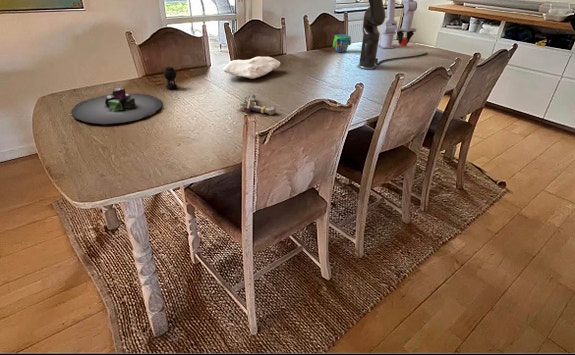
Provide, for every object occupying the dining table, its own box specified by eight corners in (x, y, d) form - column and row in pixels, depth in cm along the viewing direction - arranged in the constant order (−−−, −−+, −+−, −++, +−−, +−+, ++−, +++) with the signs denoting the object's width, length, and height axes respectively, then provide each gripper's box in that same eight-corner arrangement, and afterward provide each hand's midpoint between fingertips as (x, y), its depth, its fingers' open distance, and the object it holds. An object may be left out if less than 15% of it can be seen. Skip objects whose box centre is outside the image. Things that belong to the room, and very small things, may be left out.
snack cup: (344, 48, 256) (346, 33, 251) (354, 52, 249) (356, 36, 243) (327, 50, 249) (328, 35, 243) (337, 54, 241) (338, 38, 236)
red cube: (400, 46, 243) (401, 38, 240) (398, 44, 247) (399, 37, 245) (407, 46, 243) (409, 39, 241) (405, 44, 247) (406, 37, 245)
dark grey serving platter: (174, 113, 149) (170, 91, 144) (79, 131, 131) (72, 107, 127) (148, 93, 173) (144, 73, 169) (65, 106, 156) (59, 85, 151)
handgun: (275, 94, 165) (242, 93, 164) (275, 109, 150) (239, 108, 149) (275, 100, 167) (242, 99, 166) (275, 115, 152) (239, 114, 151)
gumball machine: (165, 90, 172) (162, 69, 166) (163, 86, 176) (159, 65, 171) (180, 88, 175) (177, 67, 169) (177, 85, 179) (174, 64, 174)
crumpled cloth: (210, 71, 195) (210, 54, 190) (264, 61, 214) (265, 46, 208) (233, 90, 182) (233, 73, 176) (288, 78, 201) (290, 62, 195)
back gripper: (400, 22, 232) (396, 44, 240) (420, 22, 236) (415, 44, 243) (395, 20, 238) (391, 42, 245) (414, 20, 241) (410, 42, 249)
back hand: (403, 43), depth 245 cm, fingers closed on red cube, 5 cm apart
